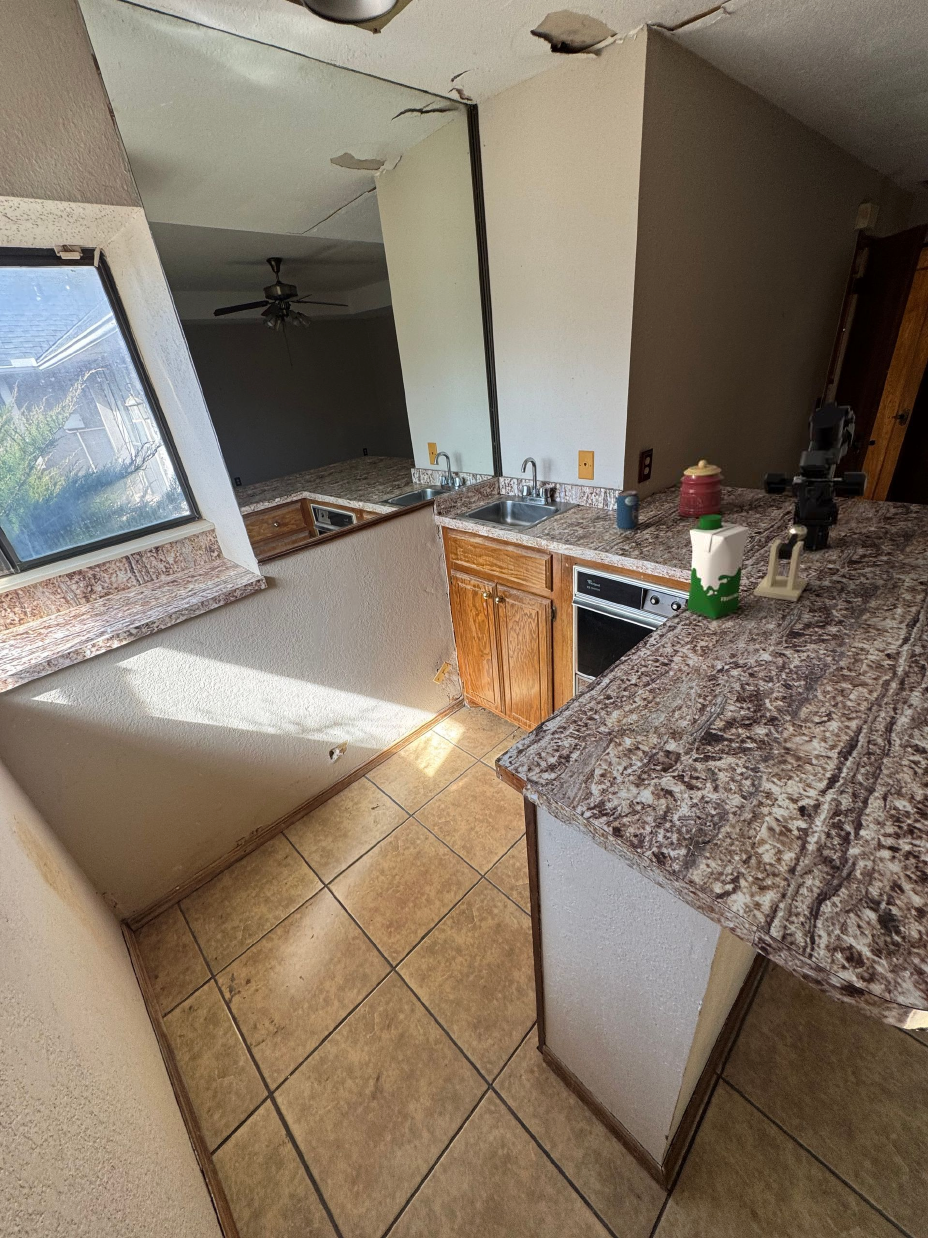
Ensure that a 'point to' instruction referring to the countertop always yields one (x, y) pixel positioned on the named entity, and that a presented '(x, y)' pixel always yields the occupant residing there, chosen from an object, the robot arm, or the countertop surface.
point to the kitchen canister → (701, 490)
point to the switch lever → (792, 541)
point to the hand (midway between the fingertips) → (802, 516)
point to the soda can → (627, 510)
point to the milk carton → (716, 566)
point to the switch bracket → (782, 585)
